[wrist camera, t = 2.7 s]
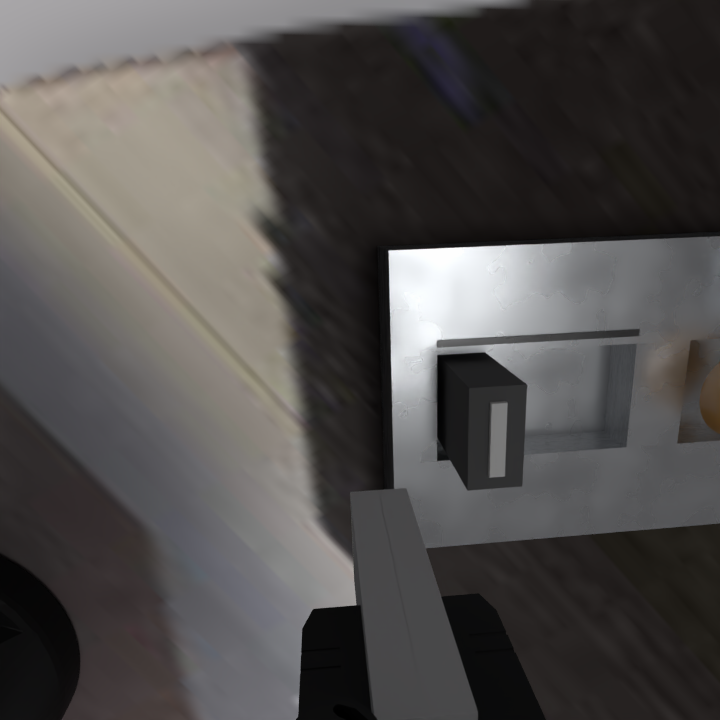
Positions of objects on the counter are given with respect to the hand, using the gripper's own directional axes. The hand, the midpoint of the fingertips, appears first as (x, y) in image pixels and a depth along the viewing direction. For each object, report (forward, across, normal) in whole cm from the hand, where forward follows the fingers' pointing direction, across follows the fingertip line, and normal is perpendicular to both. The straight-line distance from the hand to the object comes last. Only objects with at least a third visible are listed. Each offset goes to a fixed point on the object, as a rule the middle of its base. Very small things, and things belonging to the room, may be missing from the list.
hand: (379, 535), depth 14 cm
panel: (+13, +16, 0) cm, 20 cm away
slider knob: (+11, +5, 0) cm, 12 cm away
